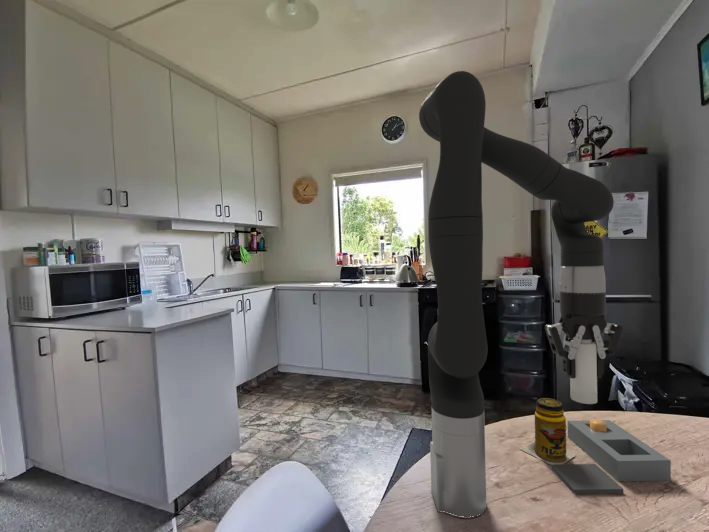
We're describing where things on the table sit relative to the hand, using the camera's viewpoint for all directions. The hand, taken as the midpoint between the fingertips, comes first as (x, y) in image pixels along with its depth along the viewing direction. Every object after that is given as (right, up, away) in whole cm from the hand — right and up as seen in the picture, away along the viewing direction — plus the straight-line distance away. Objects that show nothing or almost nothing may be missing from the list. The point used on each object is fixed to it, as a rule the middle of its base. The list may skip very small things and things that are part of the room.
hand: (583, 376), depth 69 cm
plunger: (+12, -20, +13) cm, 27 cm away
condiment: (-1, -21, +10) cm, 23 cm away
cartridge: (0, -4, 0) cm, 4 cm away
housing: (+12, -20, +8) cm, 25 cm away
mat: (+1, -20, 0) cm, 20 cm away
